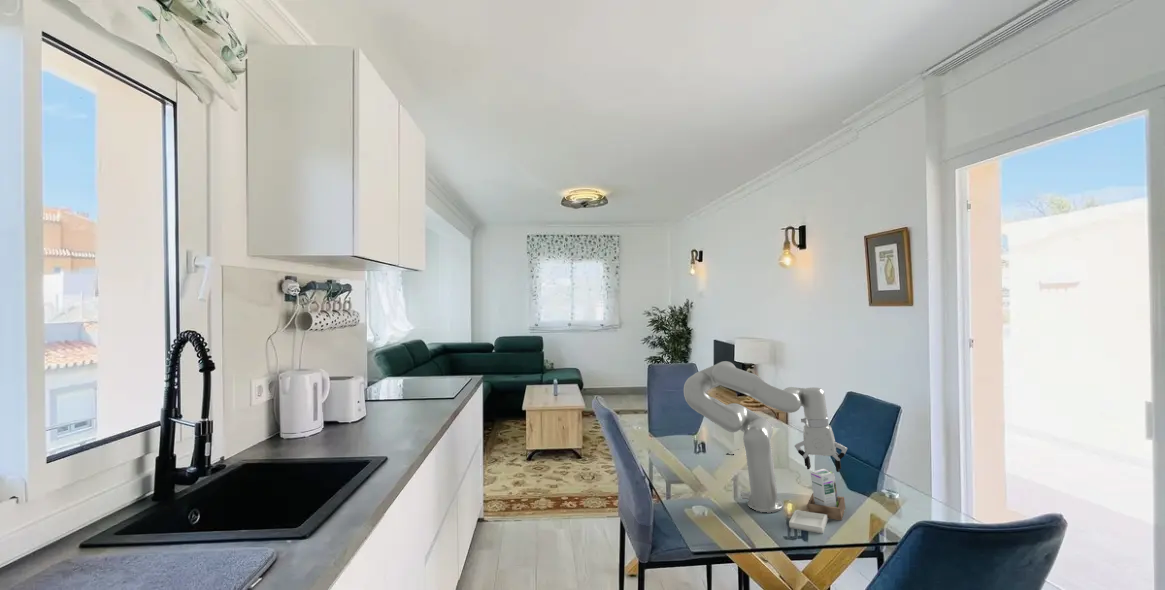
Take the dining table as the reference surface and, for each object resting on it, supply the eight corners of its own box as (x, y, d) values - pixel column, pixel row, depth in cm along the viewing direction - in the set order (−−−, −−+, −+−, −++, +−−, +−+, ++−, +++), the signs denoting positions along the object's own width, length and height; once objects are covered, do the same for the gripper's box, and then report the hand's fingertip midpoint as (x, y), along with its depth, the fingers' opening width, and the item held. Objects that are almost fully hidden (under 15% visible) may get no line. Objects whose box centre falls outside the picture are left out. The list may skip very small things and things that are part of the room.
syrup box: (826, 516, 169) (821, 475, 170) (814, 510, 175) (809, 470, 175) (839, 513, 171) (835, 472, 171) (827, 507, 176) (822, 467, 177)
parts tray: (789, 528, 164) (789, 522, 164) (796, 515, 173) (795, 509, 173) (822, 533, 158) (822, 527, 158) (827, 520, 167) (827, 514, 167)
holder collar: (808, 515, 172) (807, 504, 172) (813, 503, 180) (812, 493, 180) (841, 520, 165) (840, 508, 165) (845, 508, 174) (844, 497, 174)
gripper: (789, 424, 175) (795, 470, 175) (842, 426, 165) (849, 475, 165) (793, 418, 182) (799, 463, 181) (844, 420, 172) (851, 468, 171)
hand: (823, 469), depth 173 cm, fingers open, 9 cm apart
